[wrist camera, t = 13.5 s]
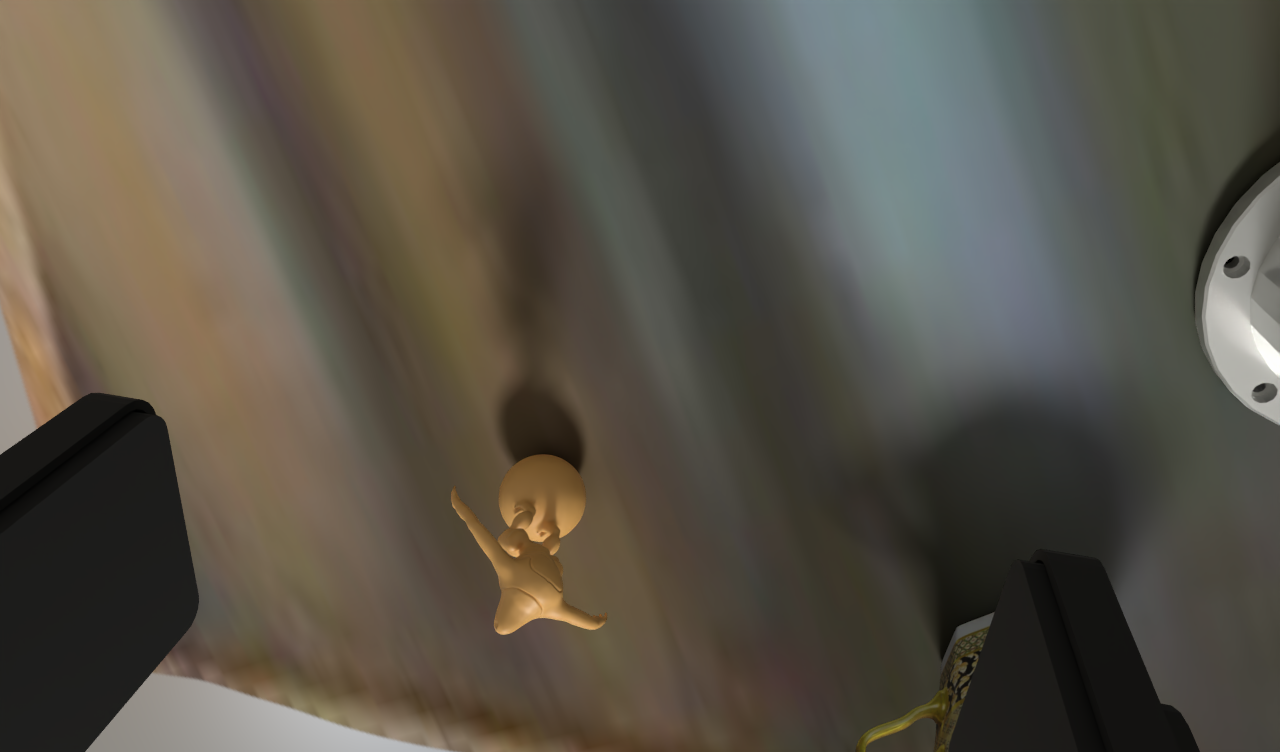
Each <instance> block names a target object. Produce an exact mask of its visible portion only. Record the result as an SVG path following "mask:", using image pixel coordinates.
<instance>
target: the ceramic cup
mask: <svg viewBox="0 0 1280 752" xmlns="http://www.w3.org/2000/svg"><path fill="white" fill-rule="evenodd" d="M994 613H995V612H993V613H991V614H988V615H986V616H983V617H980V618H978V619H975V620H972V621H970V622H967V623H965V624H962V625H960V626H958V627H957V628H956V630H955V632H954V634H953V637H952V639H951V641H950V644H949V646H948V648H947V651H946V653H945V655H944V658H943V661H942V664H941V679H940V691H938V692H937V693H936V695H935V696H934V698H933V699H932V700H931V701H930V702H929V703H927V704H925V705H921V706H918V707H916V708H914V709H913V710H911V711H910V712H909V713H907V714H906V715H904V716H903V717H901V718H899V719H896V720H893V721H890V722H887V723H884V724H881V725H879V726H876V727H874V728H872V729H870V730H869V731H867V732H866V733H864V734H863V735H862V737H861V738H860V740H859V741H858V744H857V746H856V752H866V750H865V749H866V746H867V745H868V744H869V743H871V742H872V741H874V740H876V739H879V738H882V737H885V736H887V735H890V734H893V733H896V732H898V731H901V730H903V729H905V728H907V727H908V726H910V725H911V724H912V723H913V722H915V721H916V720H918V719H921V718H931V719H933V720H934V721H935V723H936V737H935V747H934V752H948V750H949V744H950V740H951V737H952V734H953V731H954V728H955V725H956V722H957V719H958V717H959V714H960V711H961V708H962V705H963V702H964V699H965V696H966V693H967V691H968V688H969V685H970V682H971V679H972V676H973V673H974V670H975V667H976V665H977V662H978V659H979V656H980V653H981V650H982V647H983V644H984V641H985V639H986V636H987V633H988V630H989V627H990V624H991V621H992V618H993V615H994Z"/></svg>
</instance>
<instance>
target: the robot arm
mask: <svg viewBox="0 0 1280 752" xmlns="http://www.w3.org/2000/svg"><path fill="white" fill-rule="evenodd" d="M1232 257H1234V259H1233V261H1232V262H1230V263H1229V264H1225V263H1226V262H1227V260H1228V259H1230V258H1232ZM1195 323H1196V327H1197V332H1198V336H1199V340H1200V344H1201V348H1202V350H1203V352H1204V353H1205V355H1206V357H1207V359H1208V361H1209V363H1210V365H1211V367H1212V369H1213V370H1214V372H1215V373H1216V374H1217V375H1218V377H1219V378H1220V379H1221V380H1222V382H1223V383H1224V384H1225V385H1226V387H1227V388H1228V389H1229V391H1230V392H1231V393H1232V394H1233V395H1234V396H1236V397H1237V398H1238V399H1239V400H1240V401H1241V402H1242V403H1243V404H1244V405H1245V406H1246V407H1248V408H1249V409H1251V410H1252V411H1254V412H1256V413H1258V414H1259V415H1261V416H1263V417H1265V418H1267V419H1268V420H1270V421H1272V422H1274V423H1276V424H1278V425H1280V162H1279V163H1278V164H1276V165H1275V166H1274V167H1272V168H1271V169H1270V170H1269V171H1267V172H1266V173H1265V174H1263V175H1262V176H1261V177H1260V178H1259V179H1258V180H1257V181H1256V182H1255V184H1254V185H1253V186H1252V187H1251V188H1250V189H1249V190H1248V191H1247V192H1246V193H1245V194H1244V195H1243V196H1242V197H1241V198H1240V199H1239V200H1238V201H1237V202H1236V204H1235V205H1234V206H1233V208H1232V209H1231V211H1230V212H1229V214H1228V215H1227V217H1226V218H1225V220H1224V221H1223V222H1222V224H1221V225H1220V227H1219V228H1218V230H1217V231H1216V233H1215V235H1214V237H1213V239H1212V242H1211V244H1210V246H1209V248H1208V250H1207V253H1206V255H1205V257H1204V259H1203V262H1202V264H1201V269H1200V273H1199V278H1198V282H1197V287H1196V291H1195ZM198 604H199V595H198V589H197V584H196V579H195V573H194V568H193V563H192V557H191V552H190V546H189V541H188V536H187V530H186V525H185V520H184V514H183V509H182V504H181V498H180V493H179V488H178V482H177V477H176V472H175V466H174V461H173V456H172V450H171V445H170V440H169V434H168V429H167V426H166V423H165V421H164V420H163V419H162V417H159V416H157V415H156V414H155V411H154V409H153V407H152V406H151V405H150V404H149V403H148V402H146V401H144V400H140V399H134V398H128V397H122V396H116V395H110V394H104V393H90V394H88V395H86V396H84V397H82V398H81V399H79V400H78V401H77V402H75V403H74V404H72V405H71V406H69V407H68V408H67V409H65V410H64V411H62V412H61V413H59V414H58V415H57V416H55V417H54V418H52V419H51V420H49V421H48V422H47V423H45V424H44V425H42V426H41V427H39V428H38V429H36V430H35V431H34V432H32V433H31V434H30V435H28V436H27V437H25V438H24V439H22V440H21V441H19V442H18V443H17V444H15V445H14V446H12V447H11V448H9V449H8V450H6V451H5V452H4V453H2V454H1V455H0V752H85V751H86V750H87V749H88V748H89V746H90V745H91V744H92V743H93V742H94V740H95V739H96V738H97V737H98V736H99V734H100V733H101V732H102V731H103V730H104V729H105V727H106V726H107V725H108V724H109V723H110V722H111V720H112V719H113V718H114V717H115V716H116V714H117V713H118V712H119V711H120V710H121V709H122V707H123V706H124V705H125V703H127V701H128V700H129V699H130V698H131V697H132V696H133V694H134V693H135V692H136V691H137V690H138V688H139V687H140V686H141V685H142V684H143V682H144V681H145V680H146V679H147V678H148V677H149V675H150V674H151V673H152V672H153V671H154V670H155V668H156V667H157V666H158V665H159V664H160V662H161V661H162V660H163V659H164V658H165V657H166V655H167V654H168V653H169V652H170V651H171V649H172V648H173V647H174V646H175V645H176V644H177V642H178V641H179V640H180V639H181V638H182V636H183V635H184V634H185V633H186V632H187V631H188V629H189V628H190V626H191V625H192V623H193V621H194V619H195V617H196V613H197V610H198ZM948 752H1200V751H1199V748H1198V746H1197V744H1196V742H1195V739H1194V737H1193V735H1192V732H1191V730H1190V728H1189V726H1188V724H1187V723H1186V721H1185V719H1184V718H1183V716H1182V714H1181V713H1180V712H1179V711H1178V710H1176V709H1175V708H1174V707H1173V706H1171V705H1166V704H1161V703H1160V701H1159V699H1158V696H1157V694H1156V691H1155V689H1154V687H1153V684H1152V682H1151V679H1150V677H1149V675H1148V672H1147V670H1146V667H1145V665H1144V663H1143V660H1142V658H1141V655H1140V653H1139V650H1138V648H1137V646H1136V643H1135V641H1134V638H1133V636H1132V634H1131V631H1130V629H1129V626H1128V624H1127V622H1126V619H1125V617H1124V614H1123V612H1122V610H1121V607H1120V605H1119V602H1118V600H1117V597H1116V595H1115V593H1114V590H1113V588H1112V585H1111V583H1110V581H1109V578H1108V576H1107V573H1106V571H1105V569H1104V567H1103V565H1102V563H1101V562H1100V561H1099V560H1098V559H1096V558H1092V557H1086V556H1080V555H1074V554H1068V553H1062V552H1056V551H1050V550H1044V549H1040V550H1037V551H1036V552H1035V553H1034V554H1033V555H1032V557H1031V559H1030V561H1023V560H1015V561H1014V562H1013V564H1012V565H1011V567H1010V570H1009V572H1008V575H1007V578H1006V581H1005V584H1004V587H1003V589H1002V592H1001V595H1000V598H999V601H998V604H997V607H996V610H995V613H994V615H993V618H992V621H991V624H990V627H989V630H988V633H987V636H986V639H985V641H984V644H983V647H982V650H981V653H980V656H979V659H978V662H977V665H976V667H975V670H974V673H973V676H972V679H971V682H970V685H969V688H968V691H967V693H966V696H965V699H964V702H963V705H962V708H961V711H960V714H959V717H958V719H957V722H956V725H955V728H954V731H953V734H952V737H951V740H950V744H949V750H948Z"/></svg>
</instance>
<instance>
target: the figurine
mask: <svg viewBox="0 0 1280 752" xmlns="http://www.w3.org/2000/svg"><path fill="white" fill-rule="evenodd" d="M455 489H456V487H455V486H454V487H453V491H451V501H452V505H453V507H454V508H455V509H456V512H457V513H458V515H459V516H460V517H461V518H462V519H463V520H464V521H466V524H467V526H468V528H469V529H470V531H471V532H472V533H473V535H474V537H475V538H476V540H477V542H478V543H479V545H480V546H481V548H482V549H483V551H484V552H485V553H486V555H487V556H488V557H489V558H490V560H491V562H492V563H493V565H494V568H495V570H496V572H497V574H498V577H499V585H500V588H501V591H502V595H501V599H500V603H499V606H498V608H497V611H496V616H495V621H494V627H495V630H496V631H497V632H498V633H499V634H502V635H505V634H509V633H512V632H514V631H515V630H517V629H518V628H520V627H521V626H522V625H524V624H526V623H527V622H529V621H531V620H533V619H536V618H550V619H555V620H562V621H566V622H568V623H570V624H573V625H575V626H578V627H582V628H585V629H590V630H595V629H597V628H599V627H601V626H602V625H603V624H604V623H605V622H606V620H607V613H605V616H604V617H602V615H601V614H599V617H598V616H594V615H593V617H592V616H590V615H589V614H587V613H585V612H583V611H581V610H579V609H577V608H575V607H573V606H570V605H568V604H567V603H566V602H565V601H564V599H563V582H562V574H563V567H562V565H561V563H560V562H559V559H558V558H557V557H555V556H553V554H555V553H556V552H557V550H558V548H559V546H560V538H561V537H563V536H565V535H566V534H568V533H569V532H570V531H571V530H572V529H573V528H574V527H575V526H576V525H577V524H578V522H579V521H580V519H581V517H582V515H583V512H584V509H585V504H586V491H585V486H584V483H583V480H582V478H581V476H580V475H579V473H578V472H577V470H576V469H575V468H574V467H573V466H572V465H571V464H570V463H568V462H567V461H565V460H563V459H562V458H559V457H557V456H553V455H547V454H539V455H533V456H529V457H527V458H524V459H522V460H521V461H519V462H518V463H516V464H515V465H514V466H513V467H512V468H511V469H510V470H509V471H508V472H507V474H506V475H505V477H504V479H503V481H502V483H501V487H500V491H499V506H500V511H501V514H502V516H503V518H504V520H505V522H506V523H507V525H508V526H509V527H510V528H509V529H507V530H505V531H504V532H503V533H502V534H501V535H500V536H499V538H498V542H497V540H496V539H495V538H494V537H493V535H492V534H491V533H490V532H489V531H488V530H487V529H486V528H485V527H484V526H483V525H482V524H481V523H480V522H479V520H478V518H477V517H476V515H475V514H474V513H473V512H472V510H471V509H470V508H469V507H468V506H467V505H466V504H464V503H463V502H462V501H461V500H460V498H459V497H458V495H457V492H456V490H455ZM532 541H537V542H543V544H542V545H540V544H536V543H534V542H532ZM504 550H506V551H507V552H508V553H509V554H510V555H511V556H513V557H517V558H516V559H514V558H512V557H511V556H509V555H508V554H507V553H506V552H505V551H504Z"/></svg>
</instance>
